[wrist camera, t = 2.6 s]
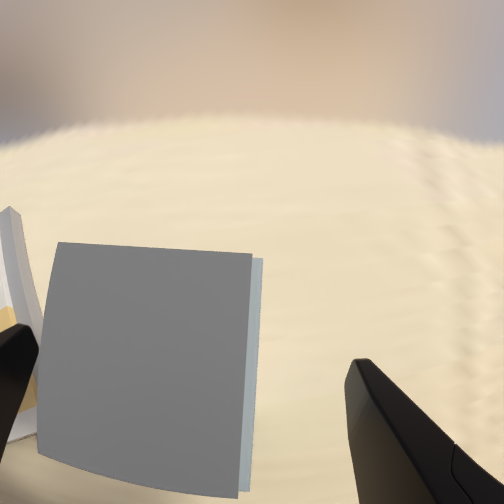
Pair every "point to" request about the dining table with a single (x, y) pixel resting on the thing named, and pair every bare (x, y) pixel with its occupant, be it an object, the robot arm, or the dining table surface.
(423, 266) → the dining table surface
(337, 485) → the dining table surface
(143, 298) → the block
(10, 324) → the rail board
